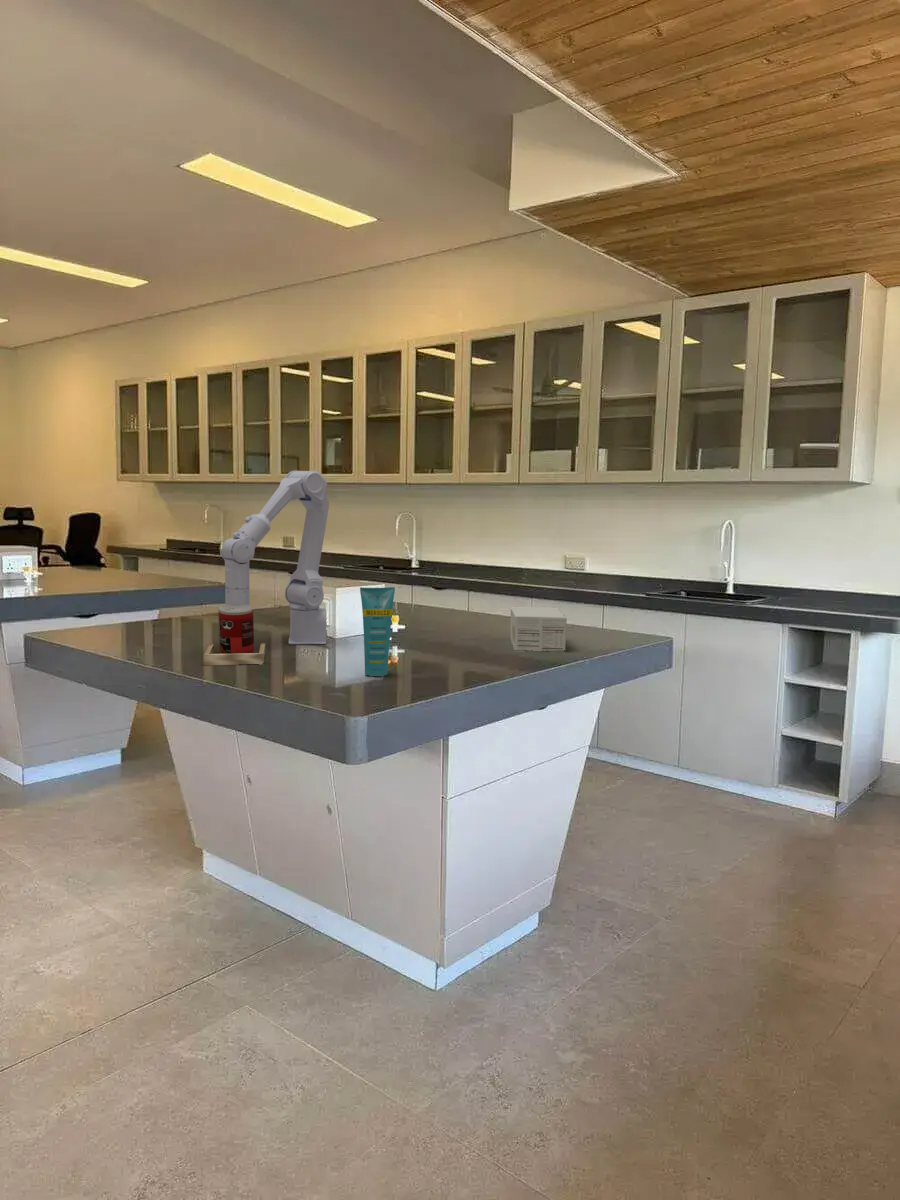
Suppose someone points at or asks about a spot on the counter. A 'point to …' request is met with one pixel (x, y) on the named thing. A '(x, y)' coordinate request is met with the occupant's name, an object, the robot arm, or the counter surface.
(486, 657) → the counter surface
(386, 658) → the tube
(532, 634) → the supplement box
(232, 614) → the canned food
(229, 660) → the bracket
